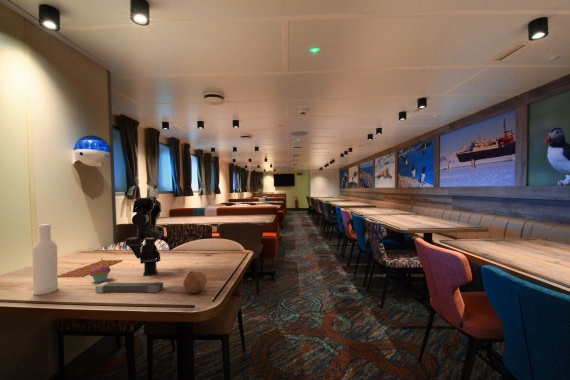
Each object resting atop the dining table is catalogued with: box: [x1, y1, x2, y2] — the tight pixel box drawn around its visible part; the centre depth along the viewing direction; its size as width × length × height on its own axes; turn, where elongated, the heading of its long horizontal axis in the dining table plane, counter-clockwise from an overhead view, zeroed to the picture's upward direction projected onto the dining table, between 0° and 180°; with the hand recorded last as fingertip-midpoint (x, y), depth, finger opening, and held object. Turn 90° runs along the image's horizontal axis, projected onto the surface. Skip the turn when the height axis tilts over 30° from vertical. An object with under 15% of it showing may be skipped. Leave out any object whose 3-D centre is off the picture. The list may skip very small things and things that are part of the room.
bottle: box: [32, 223, 59, 296], centre depth 108 cm, size 8×8×30 cm
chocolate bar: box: [57, 259, 124, 279], centre depth 141 cm, size 14×30×1 cm, turn 177°
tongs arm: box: [109, 281, 164, 291], centre depth 109 cm, size 24×2×3 cm, turn 88°
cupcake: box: [89, 257, 112, 283], centre depth 121 cm, size 9×8×12 cm
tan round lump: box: [182, 270, 208, 294], centre depth 105 cm, size 10×9×10 cm
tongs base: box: [94, 281, 161, 294], centre depth 107 cm, size 28×5×3 cm, turn 88°
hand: (144, 255), depth 117 cm, fingers open, 9 cm apart
